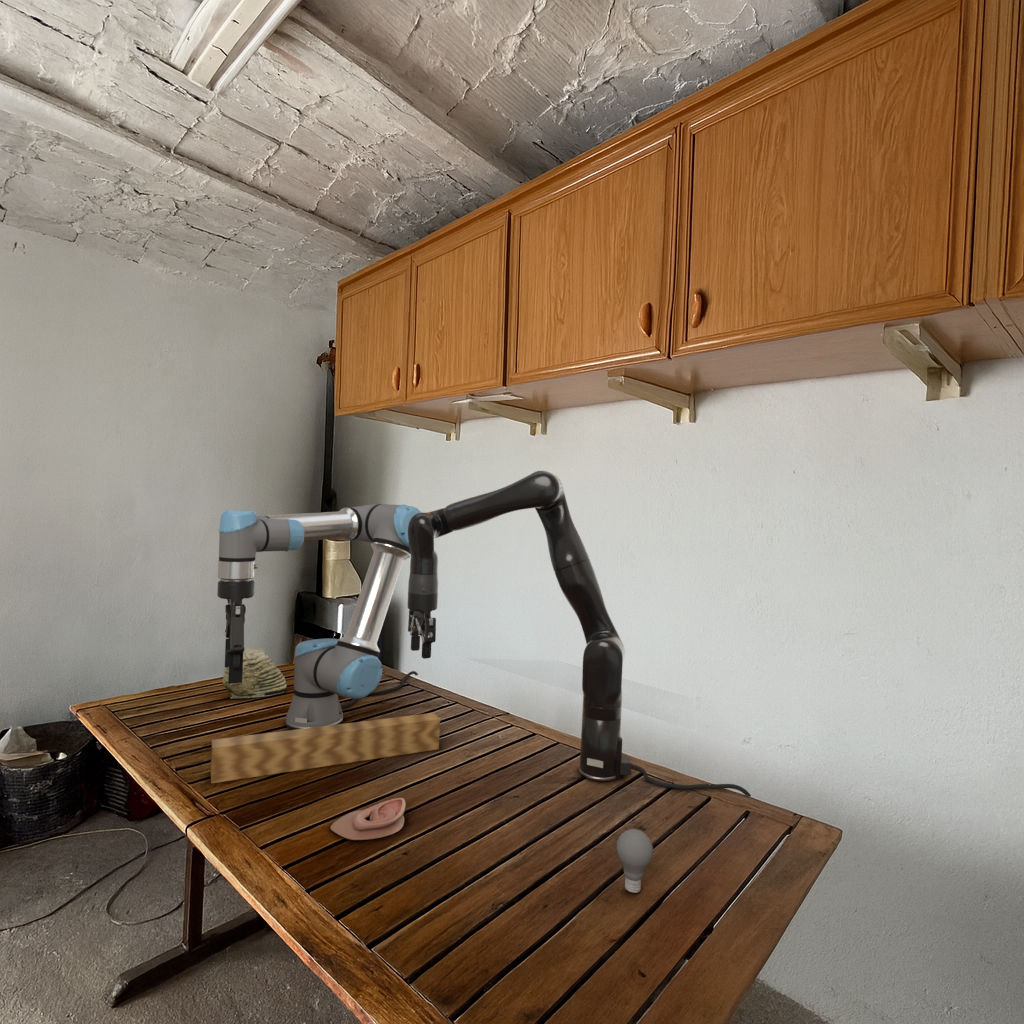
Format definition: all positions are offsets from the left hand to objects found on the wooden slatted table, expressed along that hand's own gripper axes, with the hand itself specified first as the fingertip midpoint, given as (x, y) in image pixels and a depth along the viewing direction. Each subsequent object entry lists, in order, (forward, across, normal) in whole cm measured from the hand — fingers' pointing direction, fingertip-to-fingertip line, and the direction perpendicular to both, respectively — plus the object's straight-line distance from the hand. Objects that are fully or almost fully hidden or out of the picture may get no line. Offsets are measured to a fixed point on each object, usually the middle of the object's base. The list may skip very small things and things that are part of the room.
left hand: (233, 674), depth 141 cm
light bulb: (+23, -70, -58) cm, 94 cm away
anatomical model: (+23, -33, -23) cm, 46 cm away
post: (+23, 0, -22) cm, 32 cm away
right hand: (-1, 0, -44) cm, 44 cm away
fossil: (+23, +58, -10) cm, 63 cm away
